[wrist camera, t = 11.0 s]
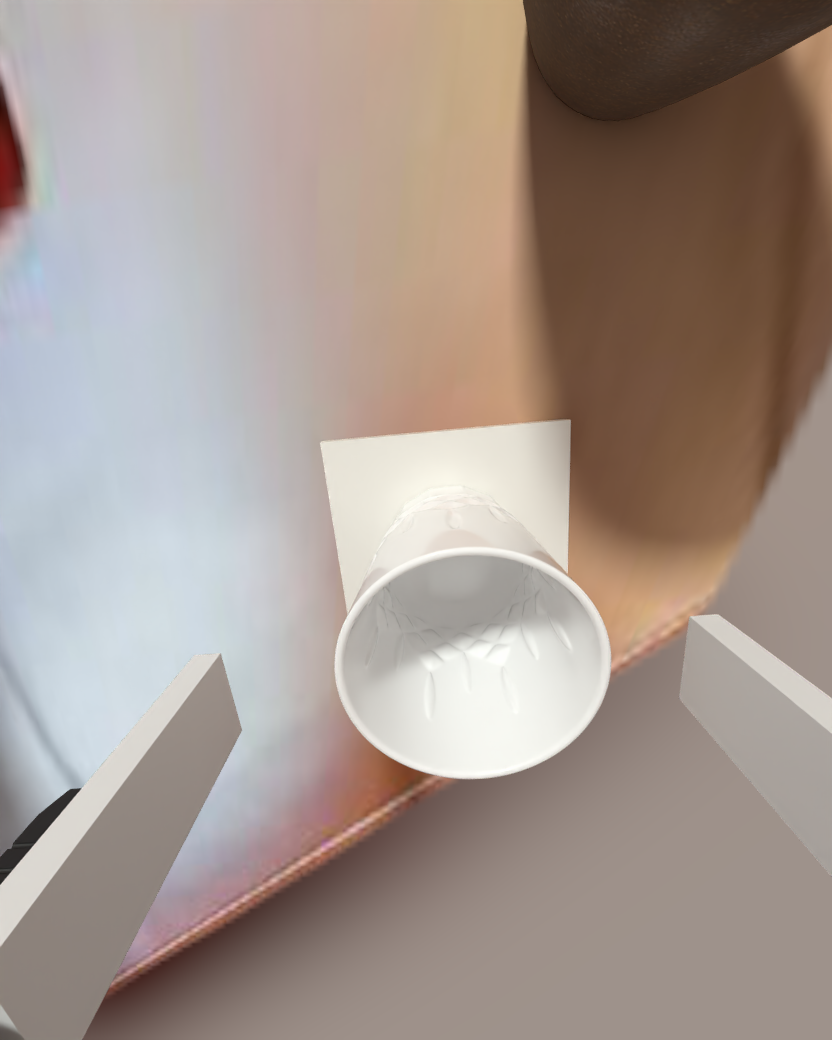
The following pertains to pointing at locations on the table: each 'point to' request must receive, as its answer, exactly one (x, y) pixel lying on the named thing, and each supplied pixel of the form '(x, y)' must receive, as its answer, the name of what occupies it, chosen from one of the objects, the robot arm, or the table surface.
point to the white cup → (469, 643)
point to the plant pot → (658, 47)
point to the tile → (447, 482)
